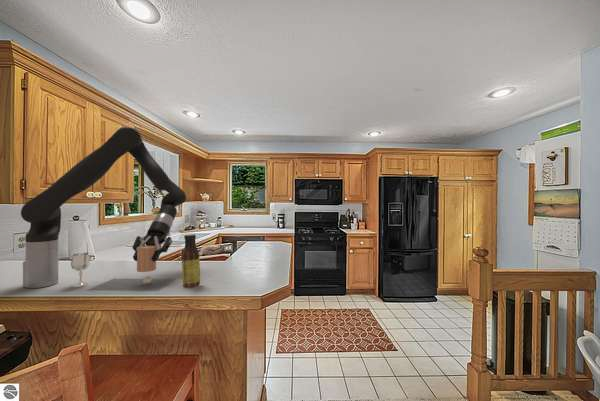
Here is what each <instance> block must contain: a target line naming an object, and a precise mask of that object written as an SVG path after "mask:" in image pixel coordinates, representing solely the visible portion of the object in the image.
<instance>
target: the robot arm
mask: <svg viewBox="0 0 600 401" xmlns="http://www.w3.org/2000/svg"><path fill="white" fill-rule="evenodd" d="M127 153H129V154H130V155H131V156H132V158H134V160H135V161H136V162H137V163H138V164H139V165H140V167H141V169H142V170H143V172H144V174H145V175H146V178H148V179H149V180H150V182H151V183H152V185H153V186H154V188H155V189H156V190H157V191H160V192H161V191H166V192H167V193H166V194H165V195H164V196H163V197H162V199H161V202H160V209H159V210H158V212H157V214H156V215H155V217H154V218H153V219H152V222H151V224H150V226H149V227H148V229H147V232H146V235H144V236H142V237H141V236H140V235H138V236H136V238H135V240H134V242H133V244H132V250H133V251H134V253H133V256H132V259H133V260H134V262H137V247H138V246H144V245H156V251H155V253H154V254H153V257H152V260H153V262H155V261H156V262H157V261H158V260H159V257H160V255H161V254H162V253H167V252H168V250H169V248H170V246H171V244H172V243H173V240H172V238H171V236H169V235H168V234H169V233H170V230H171V228H172V226H173V223H174V221H175V217H176V216H177V213H178V210H177V207H178V206H180V205H182V204H184V203H185V202H186V200H187V195H186V192H184V190H183V189H182V188H180V187H179V186H178V185H177V184H176V182H173V181H172V180H171V179H170V177H169V176H168V174H167V173H166V172H165V171H164V169H163V168H162V167H161V166H160V165H159V163H158V162H157V161H156V160H155V159H154V157H153V156H152V155H151V153H150V152H149V150H148V149H147V146H146V145H145V143H144V141H143V139H142V135H141V134H140V132H139V130H138V129H136V128H134V127H132V126H127V125H126V126H122V127H120V128H118V129H117V130H116V131H115V132H114V133H113V134H112V135H111V136H110V137H109V138H108V139H107V140H106V141H105V142H104V143H103V144H102V145H101V146H100V147H98V148H96V149H95V150H94V151H92V152H90V154H88V155H87V156H85V157H84V158H82V159H80V161H79V162H77V163H76V164H75V165H73V166H72V167H71V168H70V169H68V171H66V172H65V173H64V174H63V175H61V177H59V178H58V179H57V180H56V181H55V182H54V183H53V184H52V185H50V186H49V187H48V188H46V189H45V190H43V191H42V192H41V193H39V194H38V195H36V196H34V197H33V198H31V199H30V200H28V201H27V202H25V203H24V205H22V207H21V209H20V216H21V218H22V220H24V221H25V222H27V223H29V224H30V227H29V230H28V232H27V233H26V234H25V238H24V239H25V241H24V242H25V261H23V262H22V287H23V288H26V289H38V288H45V287H49V286H50V287H51V286H53V285H56V284H58V283H59V235H60V232H61V224H62V221H61V220H62V210H61V207H62V206H63V205H64V204H65V203H66V202H68V200H70V199H71V198H73V197H75V196H77V195H79V194H81V193H83V192H84V191H86V190H88V189H89V188H91V187H92V186H93V185H94V184H96V183H97V182H98V181H99V180H101V178H103V176H105V175H106V173H107V172H109V170H110V169H111V168H112V167H113V166H114V164H115V162H116V161H118V160H119V159H120V158H121V157H122V156H124V155H125V154H127ZM162 244H163V245H162Z"/></svg>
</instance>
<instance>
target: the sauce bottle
mask: <svg viewBox="0 0 600 401" xmlns="http://www.w3.org/2000/svg"><path fill="white" fill-rule="evenodd" d="M196 236H197V235H196V234H194V233H191V234H190V233H189V234H185V235H184V241H185V242H184V249H183V250H182V252H181V256H182V260H181V266H182V268H181V269H182V272H181V273H182V286H183V287H184V288H195V287H199V286H200V285H201V282H200V281H201V272H200V271H201V270H200V268H201V266H200V265H201V264H200V254H199V251H198V248H197V245H196V244H197V243H196V239H197V237H196Z"/></svg>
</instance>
